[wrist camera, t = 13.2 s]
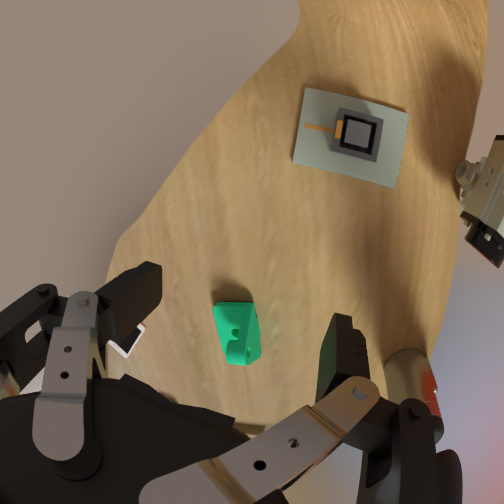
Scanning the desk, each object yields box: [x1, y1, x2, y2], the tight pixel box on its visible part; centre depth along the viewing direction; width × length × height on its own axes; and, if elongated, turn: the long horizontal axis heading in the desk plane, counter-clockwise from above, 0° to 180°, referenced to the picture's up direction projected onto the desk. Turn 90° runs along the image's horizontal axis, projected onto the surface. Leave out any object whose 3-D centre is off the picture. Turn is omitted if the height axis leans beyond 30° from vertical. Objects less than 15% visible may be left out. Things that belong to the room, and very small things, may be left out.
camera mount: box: [213, 302, 261, 365], centre depth 48 cm, size 12×8×10 cm, turn 8°
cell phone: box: [108, 322, 146, 358], centre depth 64 cm, size 9×18×1 cm, turn 143°
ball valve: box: [455, 135, 504, 268], centre depth 24 cm, size 18×8×18 cm, turn 156°
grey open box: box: [330, 107, 384, 163], centre depth 32 cm, size 6×6×5 cm
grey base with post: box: [292, 87, 409, 189], centre depth 32 cm, size 16×12×7 cm
